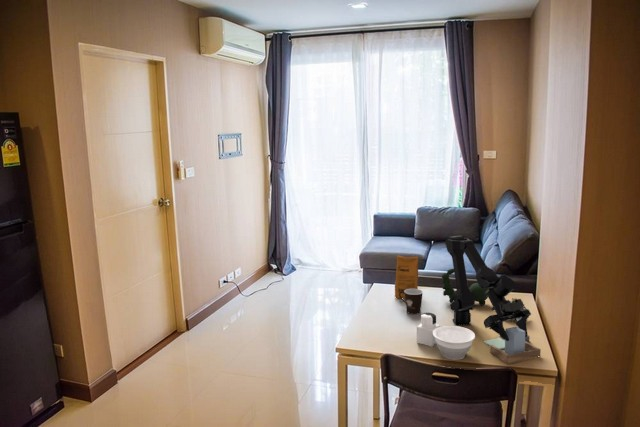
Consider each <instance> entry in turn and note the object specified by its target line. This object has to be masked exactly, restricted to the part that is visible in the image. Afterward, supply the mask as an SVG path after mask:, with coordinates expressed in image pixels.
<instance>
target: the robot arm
mask: <svg viewBox="0 0 640 427" xmlns="http://www.w3.org/2000/svg"><path fill="white" fill-rule="evenodd" d="M445 247H446V251H447V252H448V254H449V255H450V256H451V260H452V266H453V269H454V273H453V274H454V280H455V284H456V285H455V287H456V288H455V289H456V290H455V291H456V292H455V294H454V301H453V302H452V303H451V302H450V304H449V305H450V310H452V312H453V318H452V321H453V323H454V324H455V326H471V325H472V323H471V322H472V319H471V318H472V317H471V316H472V314H471V312H470V311H473V310H474V306H475V303H476V301H475V297H474V292H473V291H472V292H471V290H470V289H469V288H470V287H469V285H468V283H469V282H468V278H467V271H466V265H465V264H466V263H465V258H464V254H465V256H466V257H467V259H468V260H469V263H470V264H471V266H472V268H473V269H474V271H475V279H476V283H478V284H479V286H480V287H481V288H489V287H493V288H490V289H489V290H485V294H484V297H488V298H487V299H489V301H490V303H491V306H492V307H491V310H492V311H495V313H496V314H492V315H489V316H488V317H486V318H485V319H484V320H483V325H484V328H485V329H487V328H488V329H489V330H492V331H493V332H495V333H496V334H498V335H499V337H500V336H502V337H503V338H504V339H505V340H506V341H509V338H508V335H507V333H506V331H505V330H506V328H504V322H507V321H512V319H513V320H514V321H515V325H516V327H518V328H520V329H522V330H524V331H525V337H527V336H529V335H528V327H527V320H528V319H529V318H530V317H531V315H532V313H531V311H530V309H528V308H526V309H521V307H523V306H525V304H524V302H523V300H522V298H516V300H515V302H514V303H510V301H511V300H509V299H507V298H506V297H507V296H508V295H509V294H510V293H511V292H513V291H514V290H515V289H516V282H515V281H514V280H513V279H512V278H510V277H508V276H507V275H506V274H503V275H502V274H500V276H498V275H497V273H496V272H495V271H494V270H493V269H492V268H491V267H489V266H488V265H487V264H486V262H485V261H484V259H483V257H482V256H481V254H480V253H479V250H478V249H477V248H476V246H475V241H474V240H472V239H469V238H468V237H463V235H454V236H448V237H447V238H446V240H445ZM516 310H519V311H518V312H516ZM515 312H516V313H515ZM513 313H515V314H513ZM509 317H510V318H509ZM503 338H502V339H503ZM504 339H503V340H504Z"/></svg>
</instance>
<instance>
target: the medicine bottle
mask: <svg viewBox="0 0 640 427" xmlns="http://www.w3.org/2000/svg"><path fill="white" fill-rule="evenodd" d="M438 327H441V325H440V324H439V323H437V315H436V314H435V313H432V312H424V313H423V312H422V313H421V315H420V324H419V325H417V326H416V343H418V344H421V345H425V346H428V347H431V348H432V347H434V346H435V345H437V344H436V340H435V337H434V336H433V331H434V330H435V329H436V328H438Z"/></svg>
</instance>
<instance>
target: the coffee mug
mask: <svg viewBox="0 0 640 427" xmlns="http://www.w3.org/2000/svg"><path fill="white" fill-rule="evenodd" d="M423 292H424V291H423V290H421V289H419V288H418V289H407V290H405V291H404V292H403V291H401V292H400V293H399V296H400V298H401V301H402V302H403V303H404V304H405V307H406V313H408V312H409V313H408V314H410V313H413V314H412V315H418V314H421V308H422V301H423V300H422V299H423ZM401 293H404V294H405V299H402V297H401V295H400V294H401ZM417 313H418V314H417Z"/></svg>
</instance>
